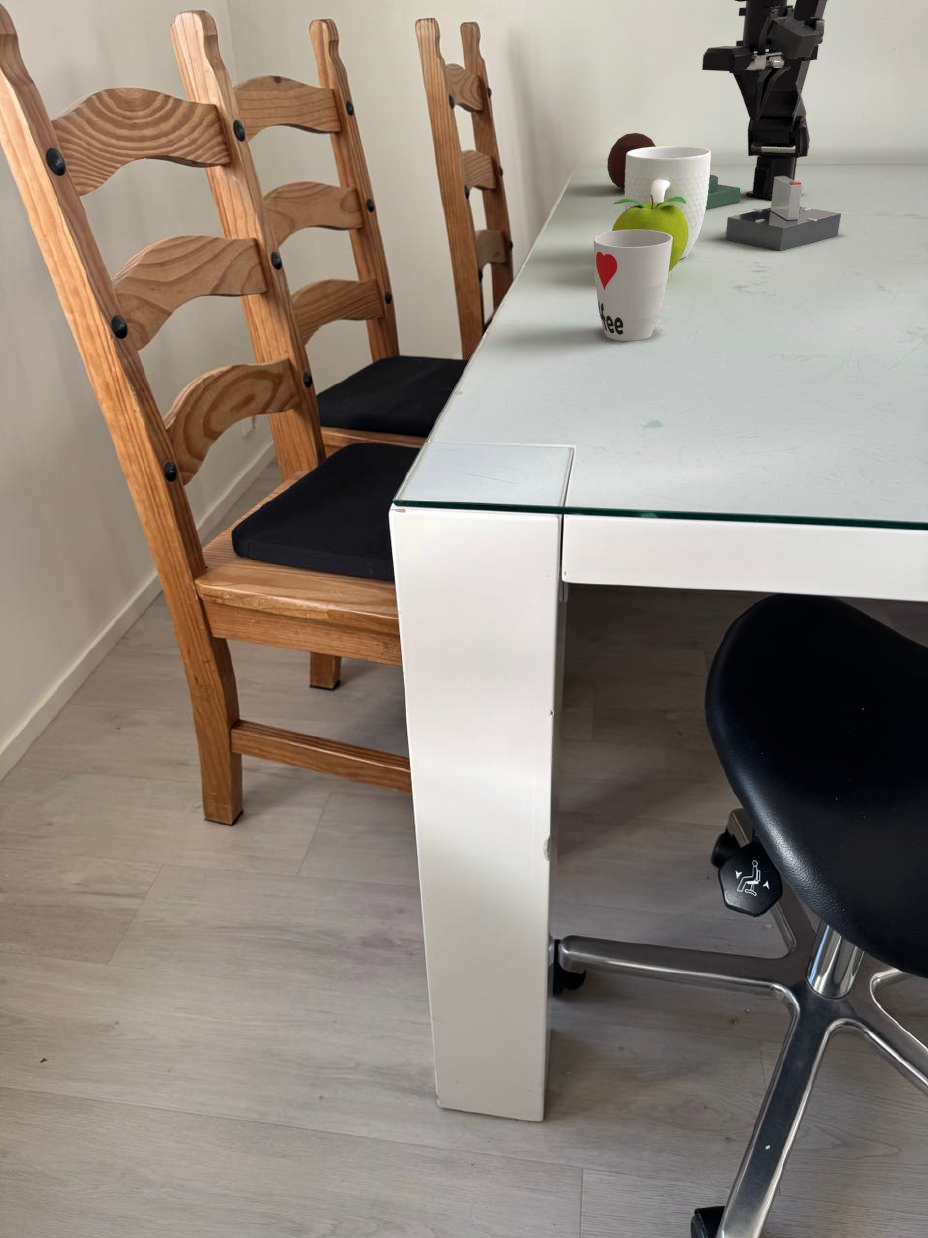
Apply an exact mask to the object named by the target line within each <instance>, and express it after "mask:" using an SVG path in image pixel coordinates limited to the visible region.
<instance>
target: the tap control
mask: <svg viewBox="0 0 928 1238" xmlns="http://www.w3.org/2000/svg"><path fill="white" fill-rule="evenodd" d="M740 195H741V187H738V186H731V185H725V184H720V183H719V177H718V176H717V175H715V174H710V177H709V189H708V196H707V205H706V210H708V209H709V210H710V209H714V208H718V207H722V206H727V205H732V204H736V203H740Z"/></svg>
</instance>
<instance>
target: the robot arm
mask: <svg viewBox="0 0 928 1238" xmlns="http://www.w3.org/2000/svg"><path fill="white" fill-rule="evenodd" d="M734 1H735V2H739V3H745V6H744V7H738V17H744V21H743V31H742V39H741V40H736V41H735V45H722V46H714V47H708V48H707V49H706V50H705V52H704V53H703V54H702V65H701V70H702V71H712V72H713V71H714V72H716V71H717V72H728V73H729V74H732V75H733V77H734V79H735V82H736V84H737V86H738V89H739V92H740V94H741V96H742V99H743V103H744V105H745V108H746V111H747V115H748V118H749V121H748V126H747V156H748V157H756V165H755V167H754V172H753V182H752V190H748V191H746V192H745V196H749V197H756V198H761V199H766V200H772V194H773V186H774V177H778V176H786V177H788V178H790V179H792V180H794V181H795V178H796V170H797V163H798V159H799V158H805V157H808V155H809V149H810V142H811V141H810V140H811V138H810V134H809V127H808V121H807V110H806V106H805V103H804V100H803V96H802V94H803V89H804V86H805V82H806V78H807V75H808V72H809V67H810V63H811V62H812V61H817V60H818V54H819V47H820V46H819V45H821V44H822V43H823V42H824V39H823V37H824V34H825V23H826V22H825V21H826V20H825V19H824V13H825V10H826V7H827V3H828V1H829V0H795V3H794V5H793V4H788V0H734Z"/></svg>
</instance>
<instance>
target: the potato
mask: <svg viewBox="0 0 928 1238" xmlns="http://www.w3.org/2000/svg"><path fill="white" fill-rule="evenodd" d="M647 147H657V146H656V144H655V142H654V140H653V139H652V138H650V137H649V136H647V135H646V134H643V133H640V132H633V133H625V134H623V135H622V136H621V137H619V138H618V139H617V140H616V141H615V142H614V144H613V145H612V147H611V148H610V150H609V154H608V157H607V166H606V167H607V168H606V169H607V173H608V177H609V178H610V180H611V183H613V184H614V185H615V186H616V187H617V188H619V189H621V190H624V191H625V169H626V154H627V152H629V151H632V150H635V149H640V148H647Z"/></svg>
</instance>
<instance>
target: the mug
mask: <svg viewBox="0 0 928 1238" xmlns="http://www.w3.org/2000/svg"><path fill="white" fill-rule="evenodd" d="M711 158H712V151H711V150H710V149H709V148H706V147H701V146H693V145H692V146H690V145H663V146H656V147H647V148H640V149H635V150H632V151H629V152H627V154H626V169H625V190H624V199H631V200H635V201H638V202H640V203H641V204H644V203H646V202H652V200H651V196H650V195H651V194H652V195H653V201H654V203H662V202H664V201H666V200H668V199H671V198H673V197H681V198H683V199H684V200H685V201H686V204H684V203H680V202H666V203H670V204H672V205H676V206H678V207H679V208H680V209H681V211H682V212H683V214H684V216H685V218H686V221H687V225H688V241H687V245H686V248H685V250H684V252H683V255H682V256H681V258H680V260H682V259H684V258H686V257H687V256H688V255H689V254H690V252H691V251H692V249H693V247H694V245H695V244H696V242H697V239H698V237H699V235H700V233H701V228H702V226H703V223H704V218H705V213H706V210H707V209H706V205H707V196H708V189H709V177H710V175H711V174H710V173H711ZM637 205H638V204H635V203H632V202H625V203H624V208H625V209H624V211H625V210H627V209H628V208H630V207H633V206H637Z"/></svg>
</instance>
